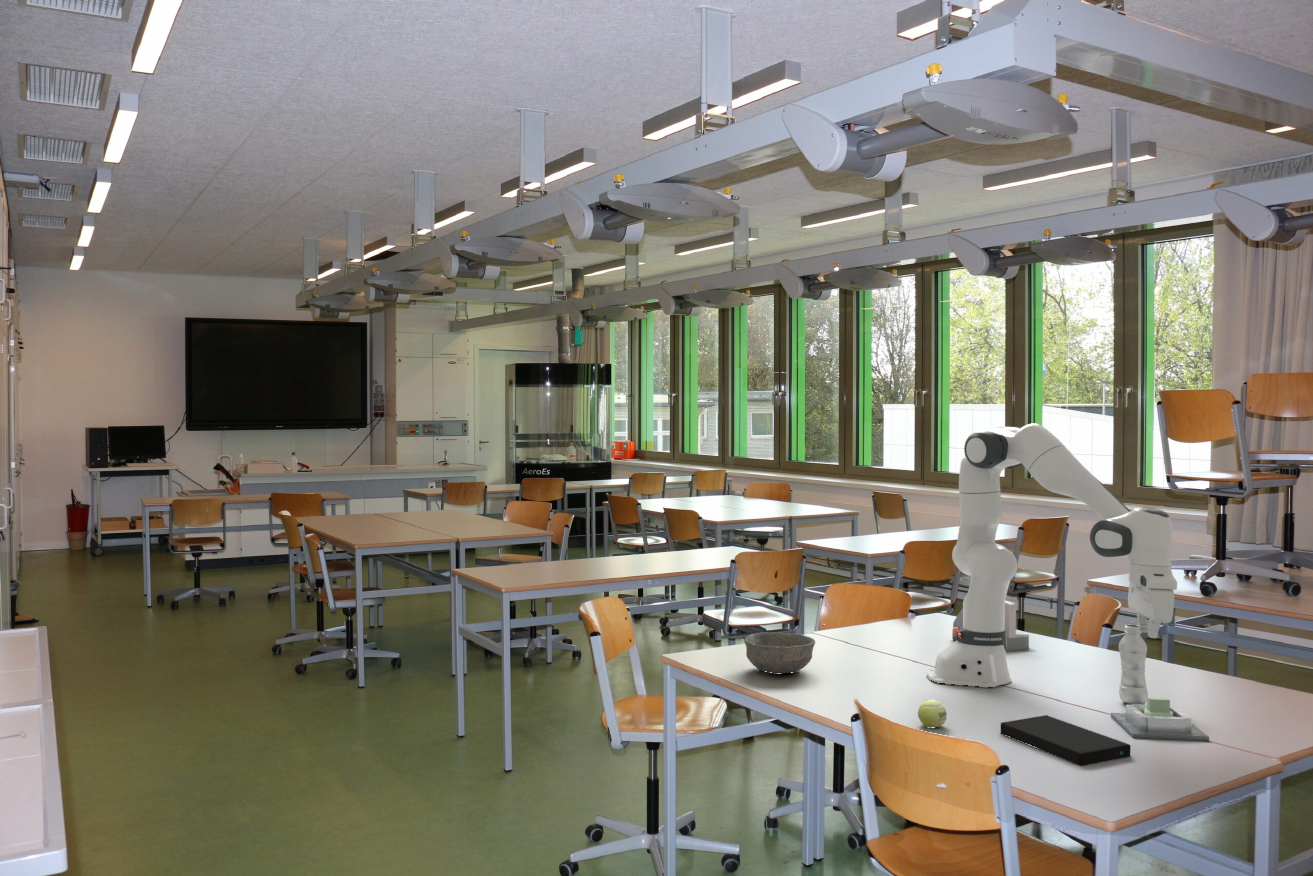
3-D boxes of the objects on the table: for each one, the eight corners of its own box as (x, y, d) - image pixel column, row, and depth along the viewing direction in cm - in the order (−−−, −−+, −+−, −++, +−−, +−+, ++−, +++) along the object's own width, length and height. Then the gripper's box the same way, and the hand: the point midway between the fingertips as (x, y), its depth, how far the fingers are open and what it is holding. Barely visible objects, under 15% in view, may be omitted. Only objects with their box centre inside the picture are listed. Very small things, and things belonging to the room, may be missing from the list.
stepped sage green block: (1149, 727, 219) (1149, 701, 219) (1140, 719, 225) (1140, 694, 225) (1177, 728, 218) (1177, 702, 218) (1167, 720, 224) (1167, 695, 224)
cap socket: (1133, 737, 215) (1132, 720, 215) (1110, 716, 231) (1110, 700, 231) (1209, 741, 213) (1208, 723, 213) (1181, 719, 228) (1181, 703, 228)
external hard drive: (1047, 727, 224) (1047, 715, 224) (1130, 758, 203) (1130, 744, 203) (1000, 735, 219) (1000, 722, 219) (1081, 768, 198) (1081, 754, 198)
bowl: (830, 674, 273) (830, 639, 273) (779, 686, 261) (779, 650, 261) (780, 660, 290) (779, 628, 290) (729, 671, 277) (729, 637, 277)
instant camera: (1034, 651, 300) (1033, 604, 300) (969, 653, 299) (969, 605, 299) (1006, 637, 321) (1006, 593, 321) (946, 638, 320) (946, 594, 320)
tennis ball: (937, 703, 220) (949, 697, 226) (910, 702, 225) (922, 696, 230) (941, 731, 220) (953, 724, 225) (914, 730, 224) (926, 722, 229)
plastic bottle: (1137, 709, 237) (1136, 629, 237) (1113, 702, 243) (1112, 624, 243) (1153, 705, 240) (1153, 627, 240) (1129, 699, 246) (1129, 622, 246)
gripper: (1121, 569, 235) (1120, 625, 235) (1150, 582, 215) (1148, 643, 215) (1149, 571, 234) (1147, 627, 234) (1180, 583, 214) (1178, 644, 214)
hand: (1147, 634), depth 224 cm, fingers open, 5 cm apart
